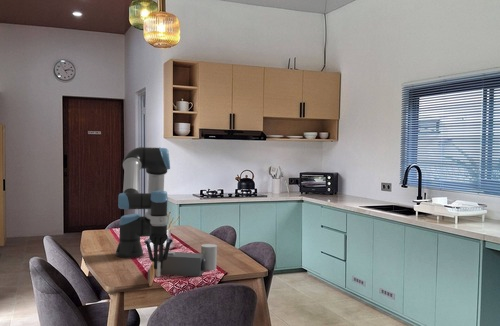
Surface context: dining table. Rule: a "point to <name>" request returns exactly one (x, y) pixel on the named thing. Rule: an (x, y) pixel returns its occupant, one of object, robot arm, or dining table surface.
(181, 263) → the camera body
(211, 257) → the cup
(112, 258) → the dining table surface
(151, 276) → the side door
